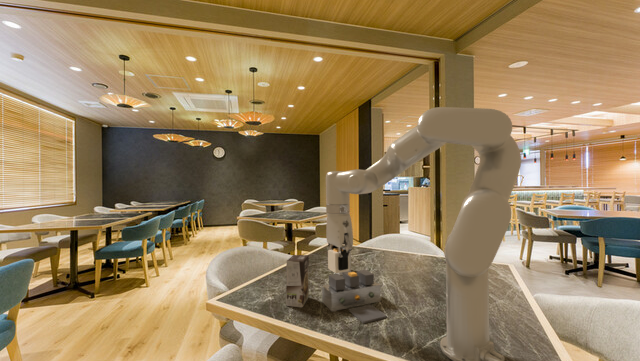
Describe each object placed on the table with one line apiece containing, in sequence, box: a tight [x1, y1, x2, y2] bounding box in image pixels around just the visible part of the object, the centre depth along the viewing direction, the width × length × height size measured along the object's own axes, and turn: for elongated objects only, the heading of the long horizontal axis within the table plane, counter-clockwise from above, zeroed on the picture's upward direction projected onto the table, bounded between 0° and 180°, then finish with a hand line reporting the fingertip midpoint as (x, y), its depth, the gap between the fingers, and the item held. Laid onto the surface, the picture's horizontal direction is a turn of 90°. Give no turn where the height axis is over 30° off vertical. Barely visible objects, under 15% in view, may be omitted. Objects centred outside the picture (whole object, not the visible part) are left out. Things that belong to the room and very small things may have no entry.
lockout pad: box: [348, 304, 388, 324], centre depth 88 cm, size 9×9×1 cm
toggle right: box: [356, 269, 375, 285], centre depth 100 cm, size 6×4×4 cm, turn 23°
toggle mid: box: [341, 270, 359, 287], centre depth 99 cm, size 6×4×4 cm, turn 23°
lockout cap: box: [327, 248, 350, 274], centre depth 85 cm, size 5×5×7 cm
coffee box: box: [285, 254, 310, 308], centre depth 98 cm, size 9×6×16 cm
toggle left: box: [328, 273, 345, 291], centre depth 96 cm, size 6×4×4 cm, turn 23°
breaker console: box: [321, 281, 381, 312], centre depth 98 cm, size 8×20×6 cm, turn 113°
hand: (338, 266), depth 85 cm, fingers closed on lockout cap, 4 cm apart
